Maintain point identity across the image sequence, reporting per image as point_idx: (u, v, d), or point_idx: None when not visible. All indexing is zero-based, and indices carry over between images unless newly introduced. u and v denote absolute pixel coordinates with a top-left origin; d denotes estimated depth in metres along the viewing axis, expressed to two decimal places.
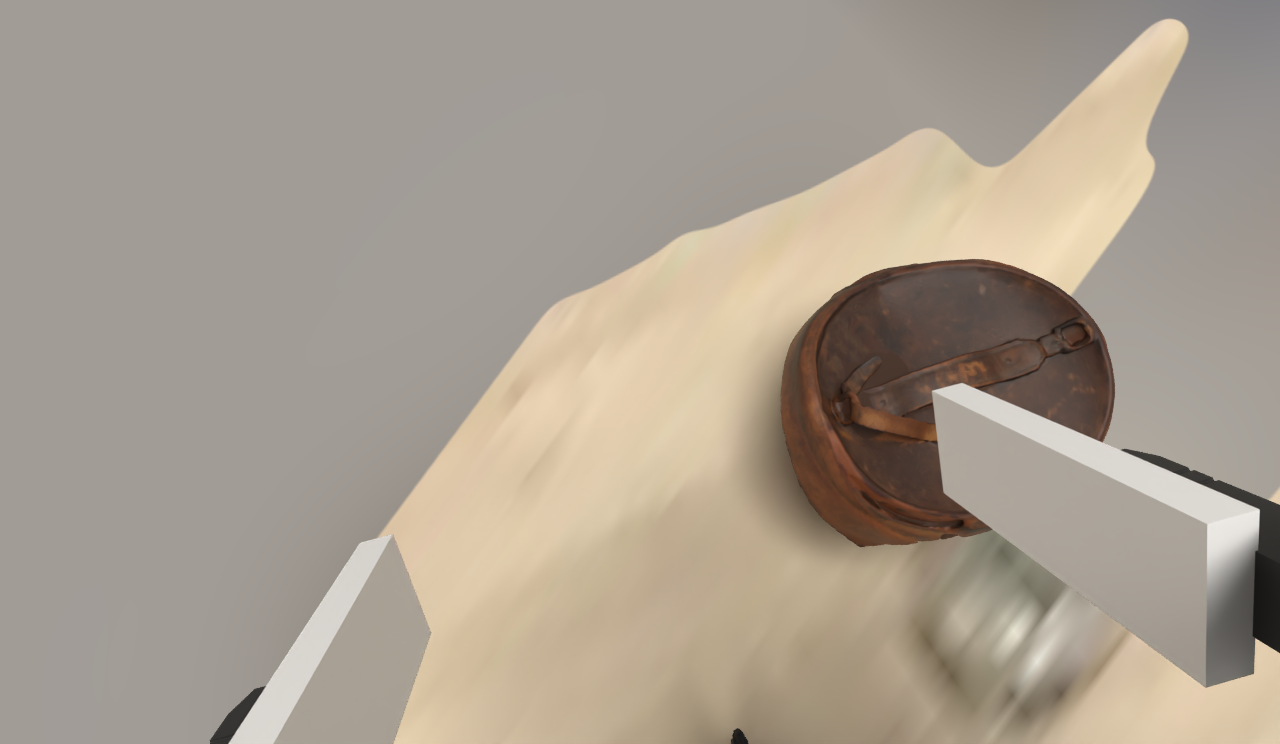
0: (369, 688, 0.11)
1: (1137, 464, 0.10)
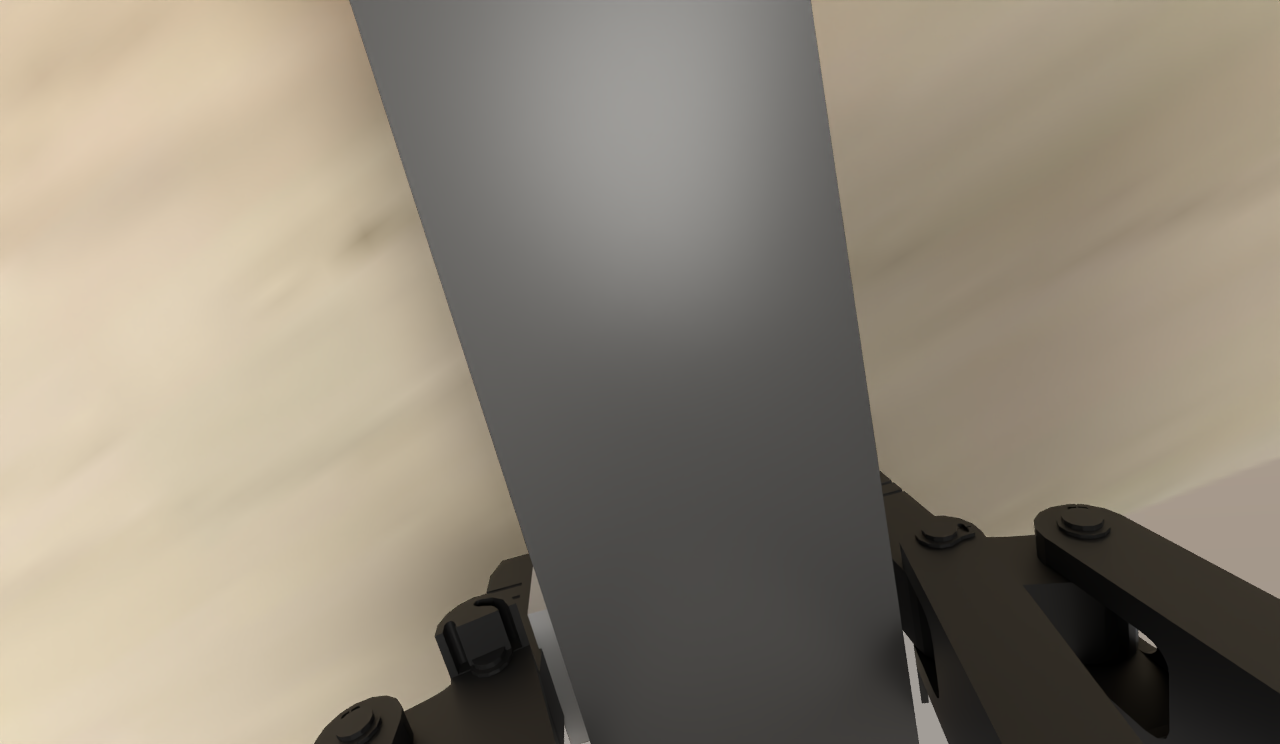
0: None
1: None
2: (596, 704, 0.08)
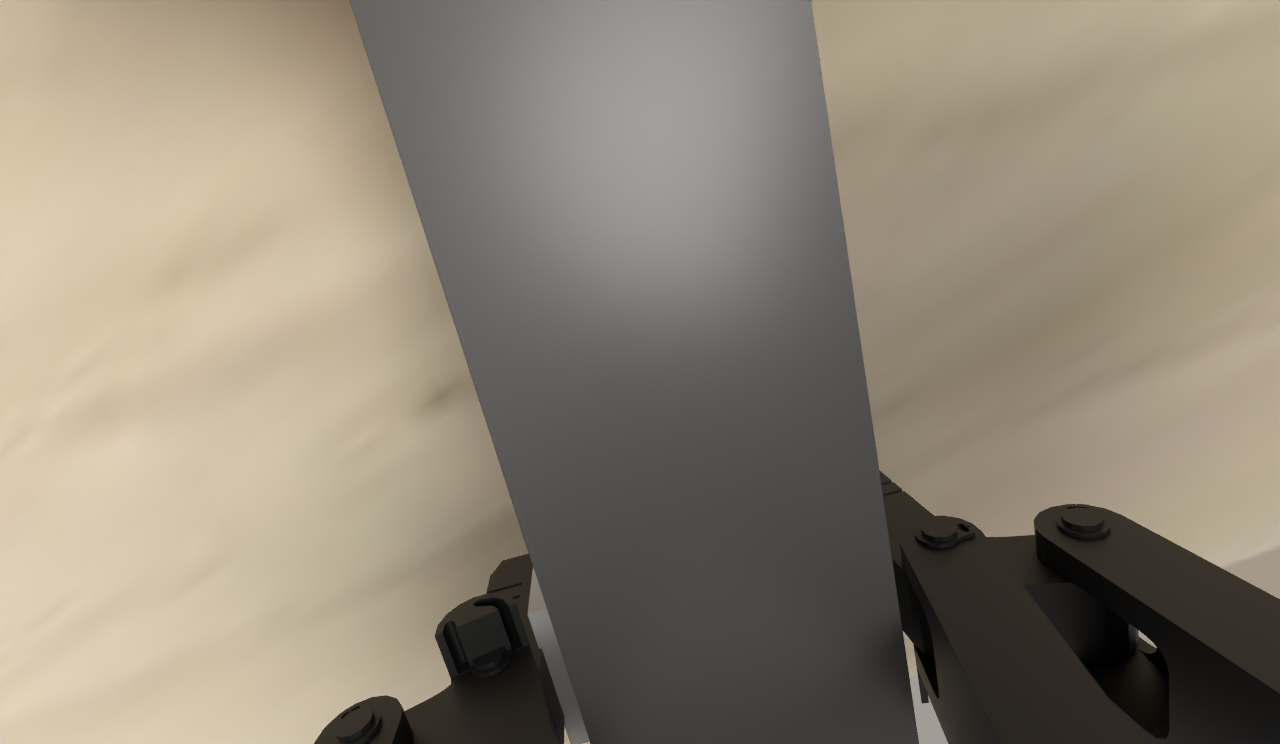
0: None
1: None
2: (596, 705, 0.08)
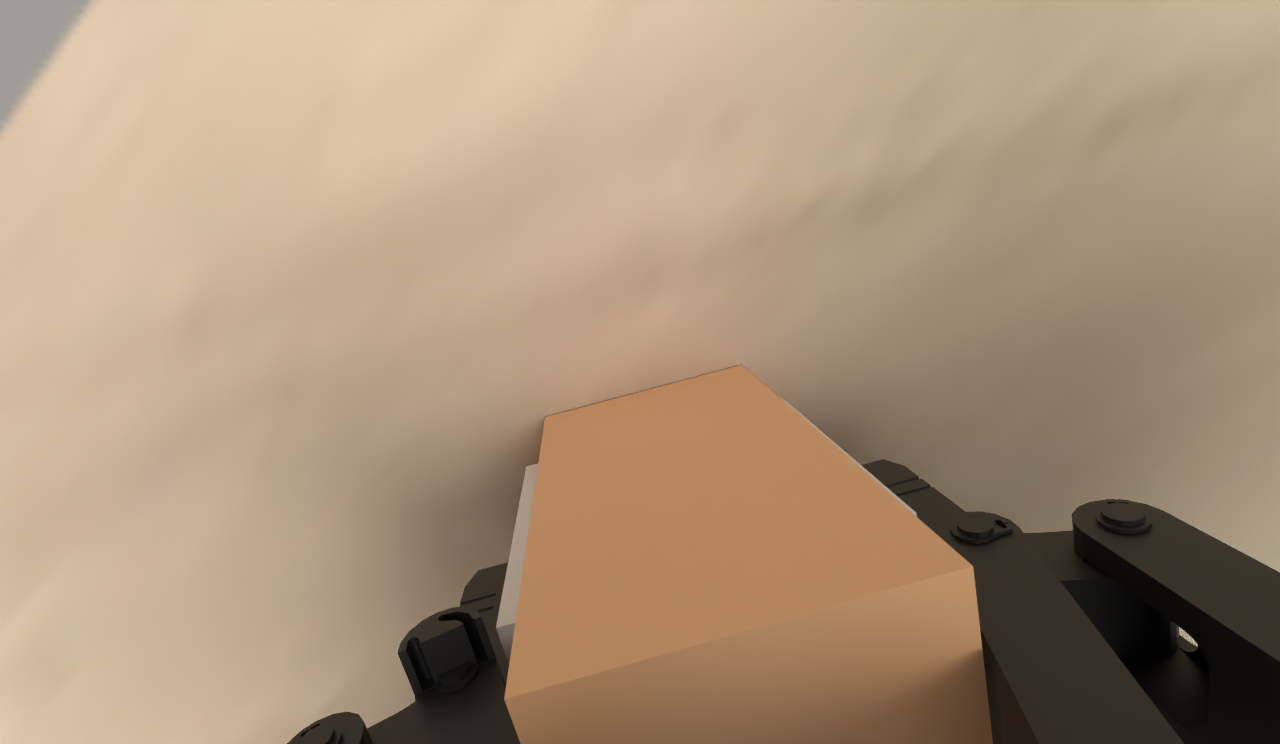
0: None
1: None
2: None
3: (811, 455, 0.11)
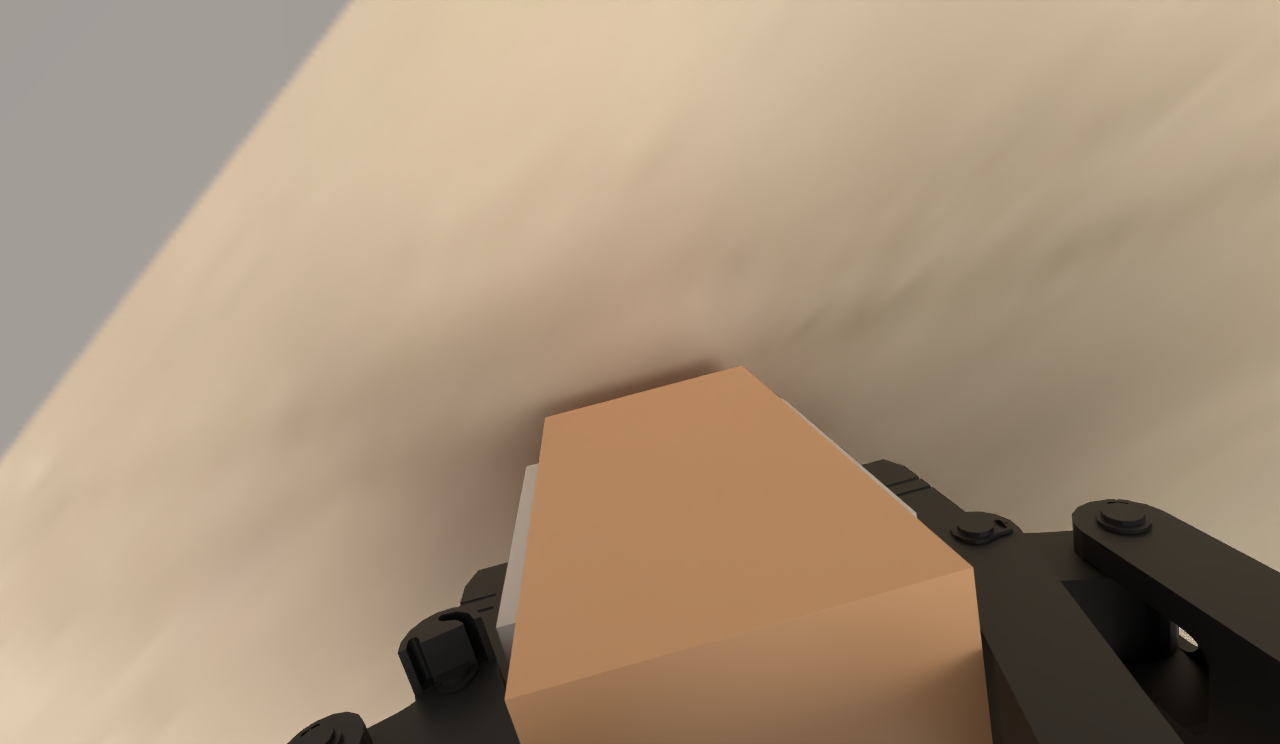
0: None
1: None
2: None
3: (811, 456, 0.11)
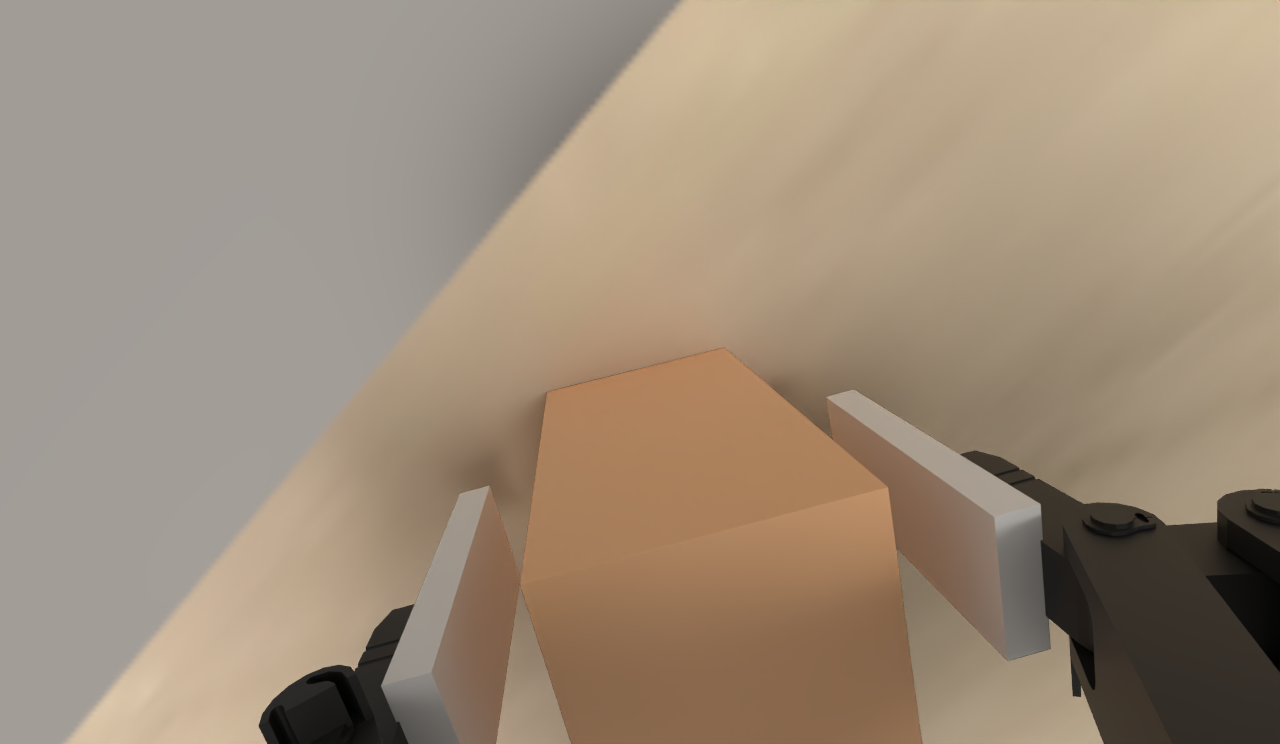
0: (489, 612, 0.13)
1: (963, 464, 0.11)
2: None
3: (775, 415, 0.13)
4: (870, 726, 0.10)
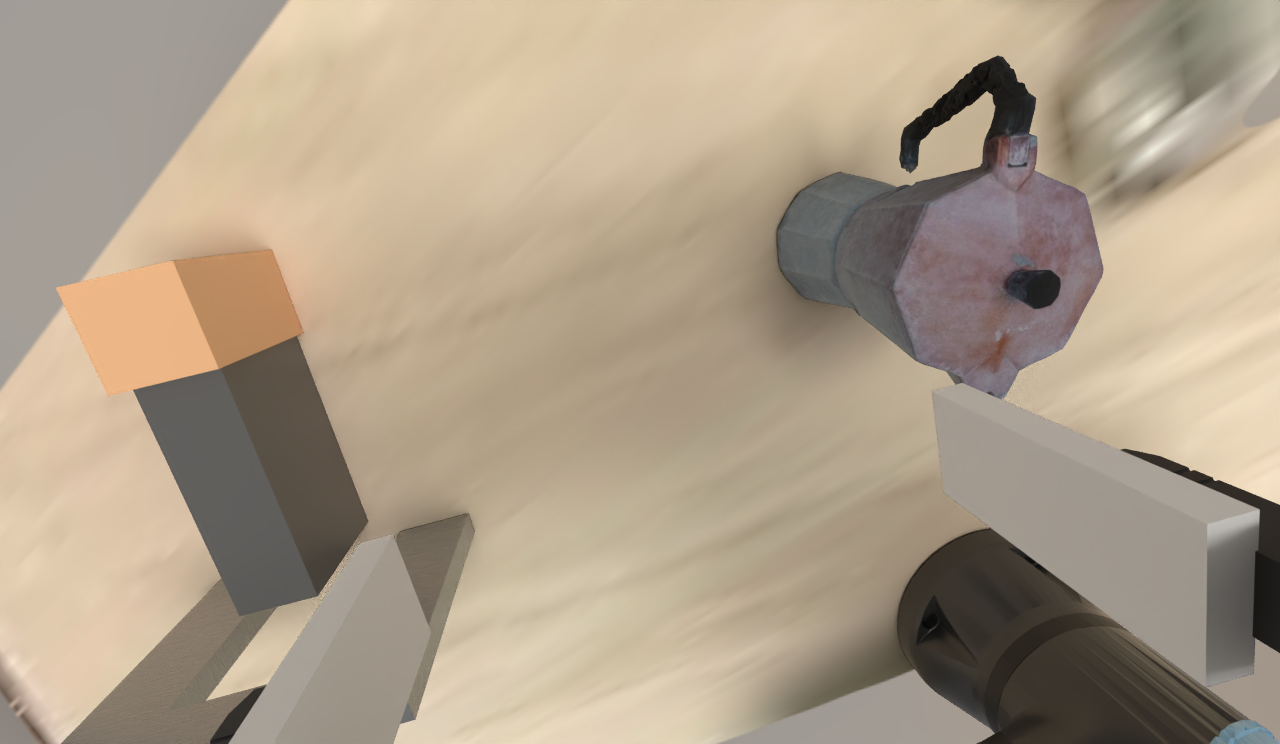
0: (369, 688, 0.11)
1: (1137, 464, 0.10)
2: (222, 569, 0.34)
3: None
4: (191, 347, 0.30)
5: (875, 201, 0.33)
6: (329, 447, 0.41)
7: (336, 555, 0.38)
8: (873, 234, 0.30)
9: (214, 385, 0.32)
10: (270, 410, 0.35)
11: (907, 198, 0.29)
